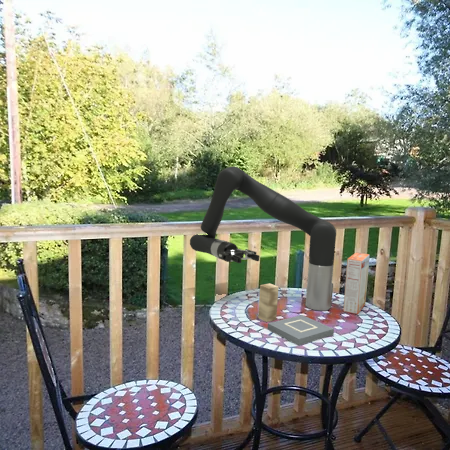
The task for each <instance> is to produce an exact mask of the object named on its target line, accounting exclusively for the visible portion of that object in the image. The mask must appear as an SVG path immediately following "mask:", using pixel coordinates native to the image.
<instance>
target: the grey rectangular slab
mask: <svg viewBox="0 0 450 450" xmlns="http://www.w3.org/2000/svg"><path fill="white" fill-rule="evenodd" d="M267 330H269V331H270V332H272V333H274V334H275V335H278V336H279V337H281V338H284V339H285V340H287V341H289V342H292V343H293V344H295V345H297V346H301V345H305V344H308V343H311V342H315V341H317V340H320V339H325V338H327V337H330V336H334V335H335V334H334V333H335V329H334V328H333V327H330V326H328V325H326V324H324V323H322V322H319V321H317V320H314V319H312V318H310V317H308V316H305V315H303V314H302V315H301V314H300V315H297V316H292V317H288V318H284V319H280V320H275V321H270V322H267ZM324 337H325V338H324Z"/></svg>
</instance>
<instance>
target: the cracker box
mask: <svg viewBox="0 0 450 450" xmlns="http://www.w3.org/2000/svg"><path fill="white" fill-rule="evenodd" d="M369 266H370V254H368V253H363V252H355V253H353V254H352V255H351V256H349V257H347V260H346V271H345V272H346V273H345V285H344V298H343V310H342V311H343V313H349V314H353V315H359V314H360V312H361V311H362V310H363V308H364V307H365V306H366V300H367V292H368V291H367V290H368V289H367V287H368V279H369V276H368V275H369V268H370V267H369Z"/></svg>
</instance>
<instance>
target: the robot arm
mask: <svg viewBox="0 0 450 450" xmlns="http://www.w3.org/2000/svg"><path fill="white" fill-rule="evenodd" d="M234 191H238V192H240V193H242V194H244V195H246V196H248V197H249V198H250V199H252V201H253V202H254V203H255V205H256V206H257V207H258V208H260V210H261V211H262V212H264V213H265V214H267V215H269V216H270V217H271V218H274V219H275V220H278V221H280V222H282V223H284V224H288V225H290V226H293V227H295V228H297V229H299V230H301V231H302V232H304V233H306V234H307V235H308V236H310V237H309V248H308V249H309V250H308V271H307V279H306V280H307V281H306V283H307V284H306V294H305V307H306V308H308V309H310V310H314V311H321V312H322V311H324V312H325V311H328V310H330V309H331V308H332V305H333V304H332V303H333V291H334V283H333V275H334V263H335V251H336V249H335V248H336V240H337V230H336V227H335V225H334V224H332V223H331V222H329V221H327V220H325V219H323V218H320V217H318V216H317V215H314V214H312V213H310V212H308V211H306V210H305V209H304V208H302V207H301V206H300V205H298V204H297V203H296V202H294V201H293V200H291V199H290V198H288V197H286V196H285V195H283V194H281V193H280V192H277V191H276V190H274V189H272V188H270V187H269V186H267V185H265V184H263V183H261V182H259V181H258V180H256V179H255V178H253V177H252V176H250V175H249V174H248V173H246V171H244V170H243V169H241V168H240V167H237V166H228V167H226V168H224V169H222V170H221V171H219V173H218V175H217V177H216V182H215V185H214V190H213V193H212V198H211V200H210V203H209V205H208V208H207V210H206V213H205V215H204V217H203V220H202V222H201V224H200V230H201V231H202V232H203V233H204V234H203V235H198V234H199V233H196V235H195V234H194V235H192V236H191V238H190V239H189V245H190V248H191V249H192V250H193V251H195V252H200V253H204V254H205V253H206V254H208V255H210V256H213V257H215V258H216V259H220V260H221V261H224V262H228V263H231V262H234V263H237V264H241V263H242V260H245V261H246V260H252V261H255V262H259V261H260V255H259V254H257V251H254V250H252V249H246V248H245V249H241V248H238V246H237V245H236V244H235V243H234V242H230V241H227V240H224V239H219V238H216V236H217V230H218V228H219V226H220V224H221V222H222V220H223V216H224V213H225V212H224V211H225V207H226V203H227V202H228V200H229V198H230V197H231V195H232V193H233V192H234ZM206 233H207V234H208V235H206ZM244 256H245V257H244Z"/></svg>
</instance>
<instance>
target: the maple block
mask: <svg viewBox="0 0 450 450" xmlns="http://www.w3.org/2000/svg"><path fill="white" fill-rule="evenodd" d="M278 298H279V286H278V285H275V284H272V283H270V282H269V283H265V284H260V285H259V300H258V311H257V313H258V314H257V319H259V320H261V321H263V322H265V323H271V322H275V321H277V313H278Z"/></svg>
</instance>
